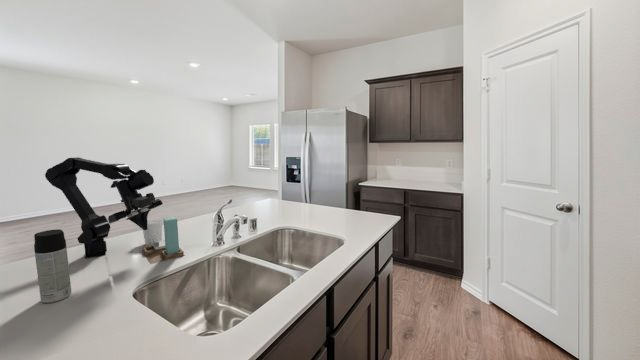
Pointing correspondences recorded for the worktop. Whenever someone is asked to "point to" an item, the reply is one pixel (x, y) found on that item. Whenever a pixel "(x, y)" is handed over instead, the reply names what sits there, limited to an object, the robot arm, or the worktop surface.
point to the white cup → (153, 231)
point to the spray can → (52, 265)
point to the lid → (158, 244)
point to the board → (159, 254)
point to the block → (171, 235)
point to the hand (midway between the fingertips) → (146, 229)
